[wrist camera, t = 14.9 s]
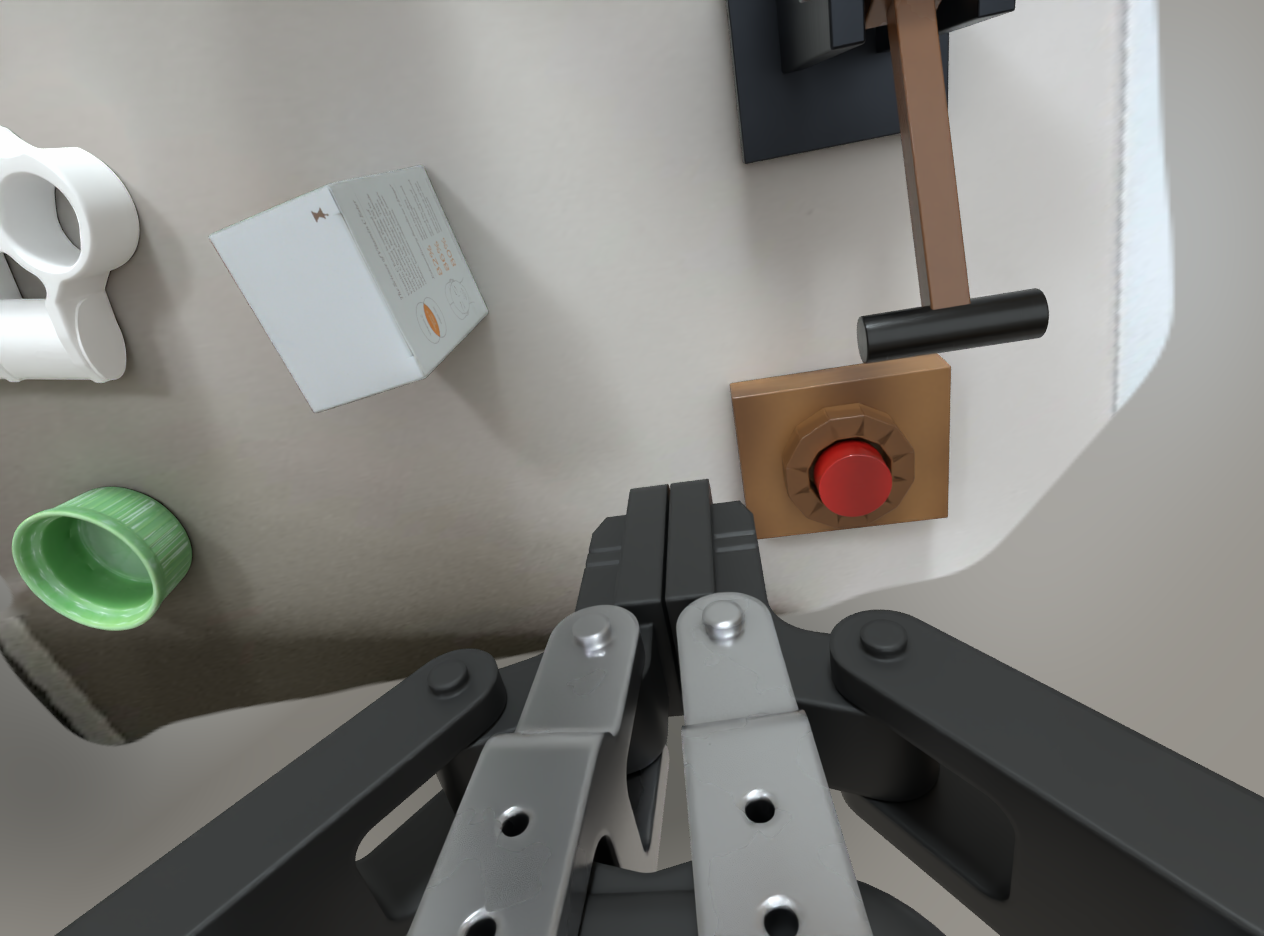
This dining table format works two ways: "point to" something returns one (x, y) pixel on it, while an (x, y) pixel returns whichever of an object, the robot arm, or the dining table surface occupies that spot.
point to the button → (852, 478)
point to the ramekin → (103, 557)
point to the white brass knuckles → (61, 263)
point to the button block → (840, 411)
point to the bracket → (822, 71)
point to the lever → (935, 212)
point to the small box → (355, 284)
